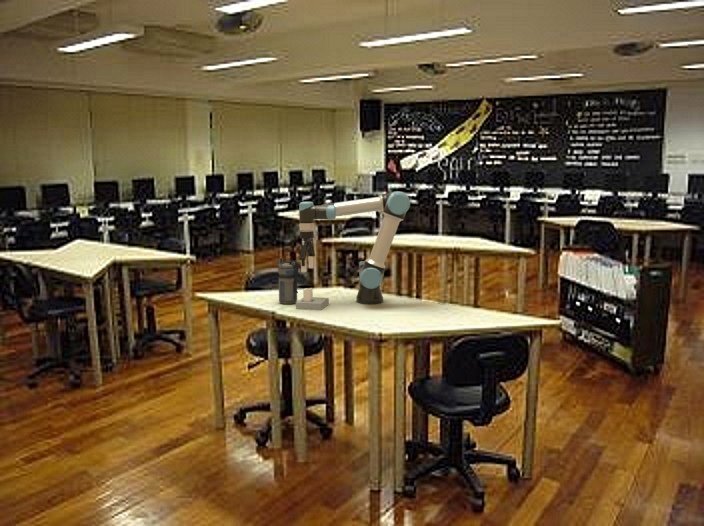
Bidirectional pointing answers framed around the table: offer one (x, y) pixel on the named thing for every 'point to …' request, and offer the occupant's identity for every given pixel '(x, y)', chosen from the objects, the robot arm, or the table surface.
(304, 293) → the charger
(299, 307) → the grey block with hole
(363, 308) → the table surface
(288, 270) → the beverage bottle
